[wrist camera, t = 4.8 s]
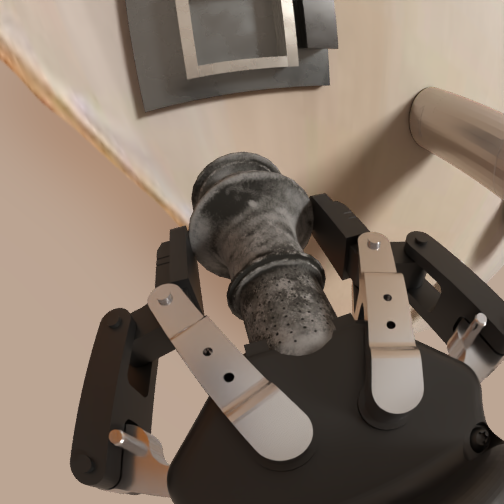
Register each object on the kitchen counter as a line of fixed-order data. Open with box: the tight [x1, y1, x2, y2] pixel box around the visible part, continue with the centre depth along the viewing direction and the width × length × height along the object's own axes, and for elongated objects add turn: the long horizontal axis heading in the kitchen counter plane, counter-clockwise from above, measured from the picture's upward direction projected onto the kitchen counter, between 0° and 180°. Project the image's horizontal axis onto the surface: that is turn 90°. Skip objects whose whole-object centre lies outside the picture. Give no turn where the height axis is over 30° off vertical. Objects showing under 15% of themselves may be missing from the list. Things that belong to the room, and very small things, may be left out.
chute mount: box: [125, 0, 338, 112], centre depth 18 cm, size 18×14×4 cm
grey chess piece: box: [188, 152, 338, 356], centre depth 11 cm, size 6×6×12 cm
